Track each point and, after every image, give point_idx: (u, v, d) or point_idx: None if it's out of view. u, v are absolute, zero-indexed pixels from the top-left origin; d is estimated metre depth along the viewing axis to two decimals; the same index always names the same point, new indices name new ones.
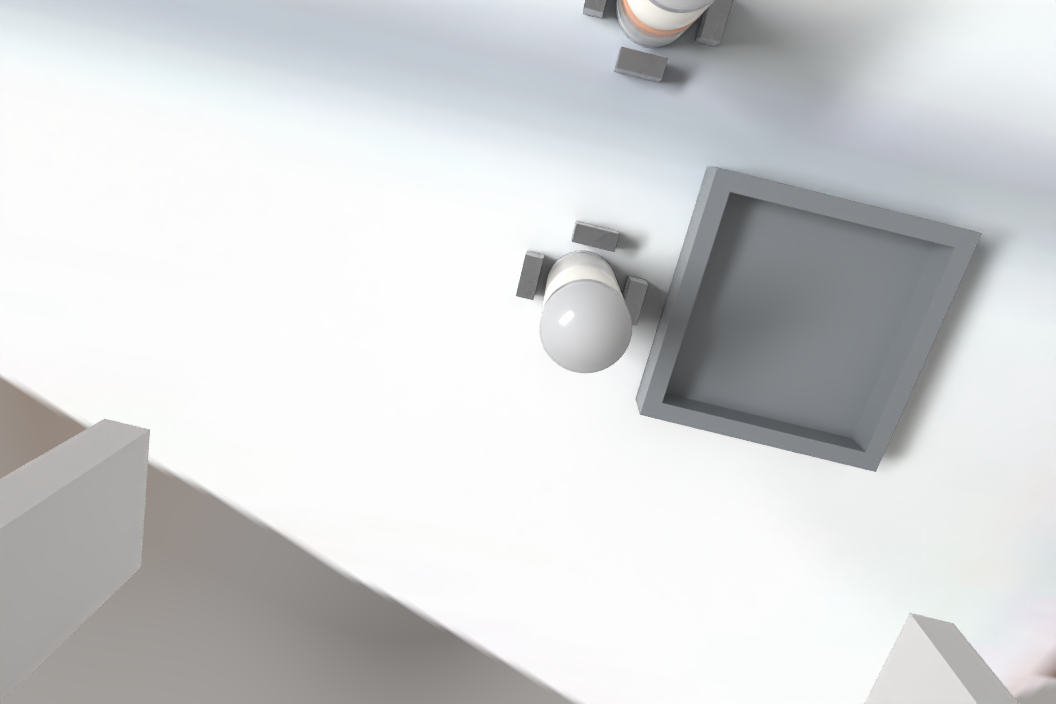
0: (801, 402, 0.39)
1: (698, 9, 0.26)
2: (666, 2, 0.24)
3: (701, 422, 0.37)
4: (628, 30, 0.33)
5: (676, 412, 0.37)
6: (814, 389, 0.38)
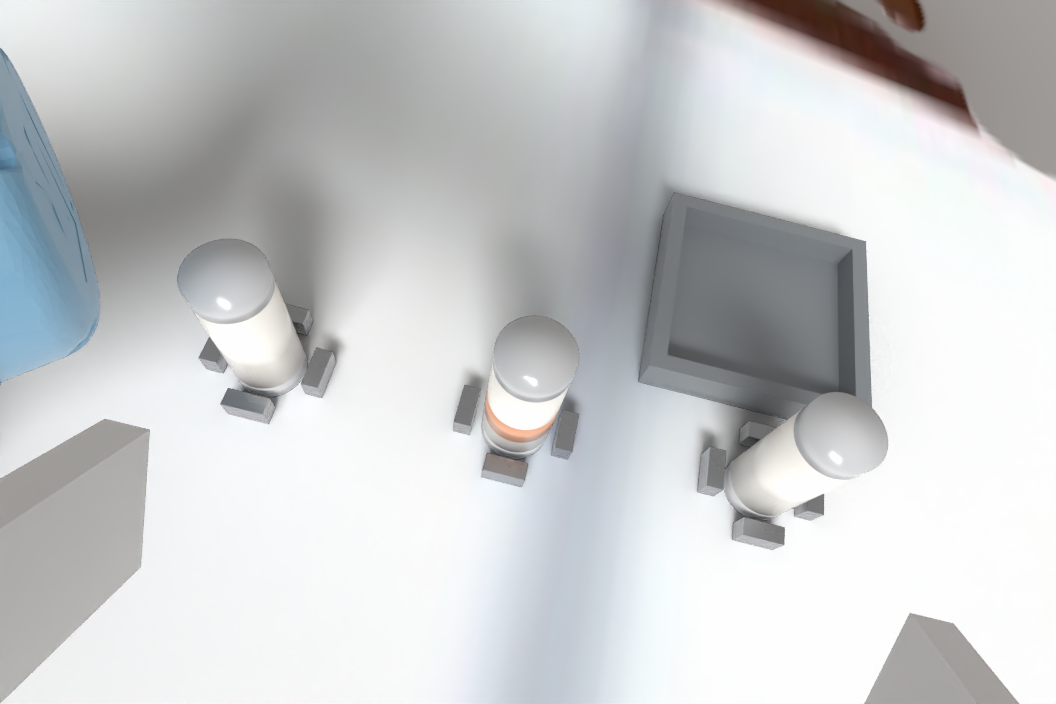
0: (818, 300, 0.46)
1: None
2: (576, 369, 0.30)
3: (864, 369, 0.41)
4: (541, 442, 0.37)
5: (861, 390, 0.40)
6: (805, 292, 0.46)
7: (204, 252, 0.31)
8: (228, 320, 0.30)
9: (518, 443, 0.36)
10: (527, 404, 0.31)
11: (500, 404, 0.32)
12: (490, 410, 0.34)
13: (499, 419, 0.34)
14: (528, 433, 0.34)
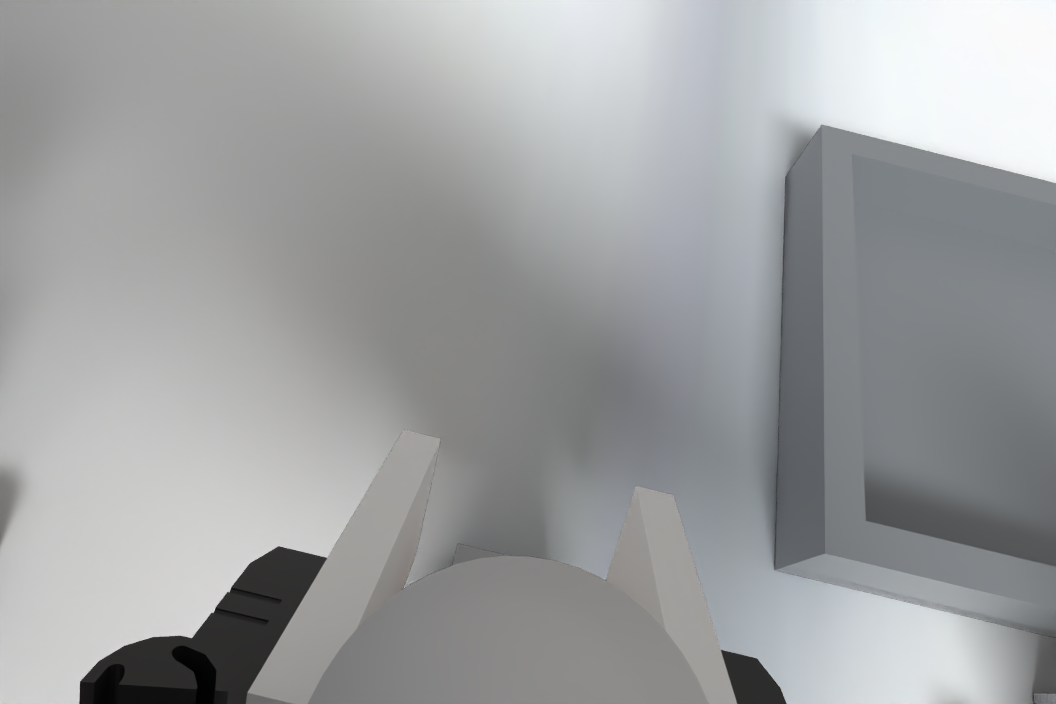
0: None
1: None
2: None
3: None
4: None
5: None
6: None
7: None
8: None
9: None
10: None
11: None
12: None
13: None
14: None
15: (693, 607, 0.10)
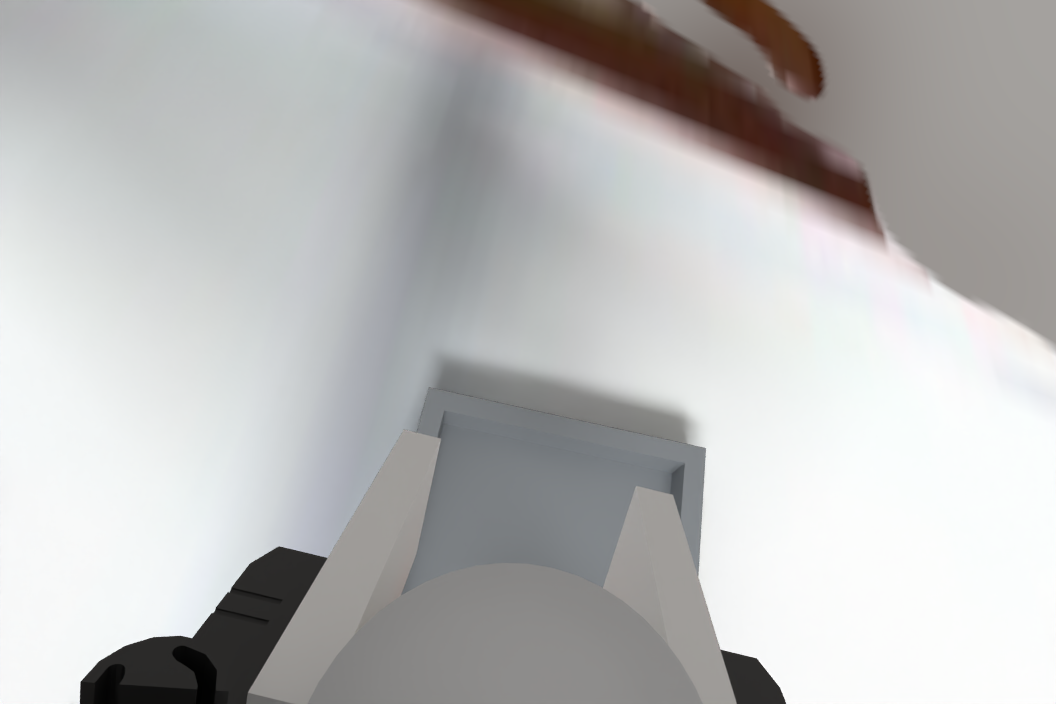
0: None
1: None
2: None
3: None
4: None
5: None
6: (619, 525, 0.32)
7: None
8: None
9: None
10: None
11: None
12: None
13: None
14: None
15: (693, 607, 0.10)
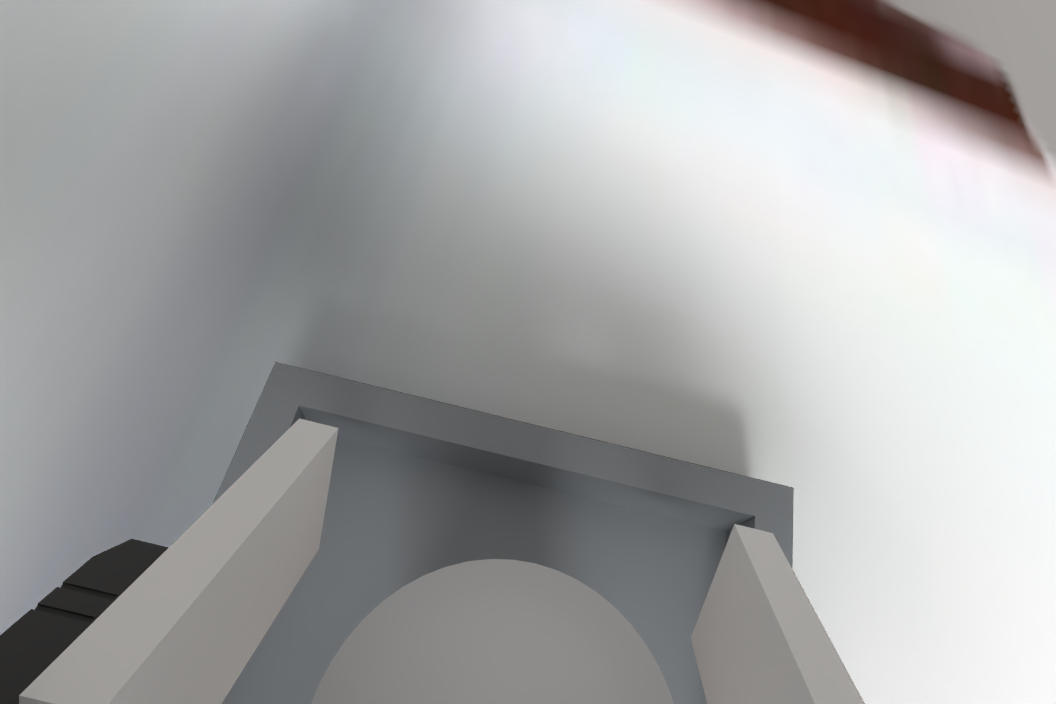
0: (663, 659, 0.17)
1: None
2: None
3: None
4: None
5: None
6: None
7: None
8: None
9: None
10: None
11: None
12: None
13: None
14: None
15: (831, 667, 0.09)
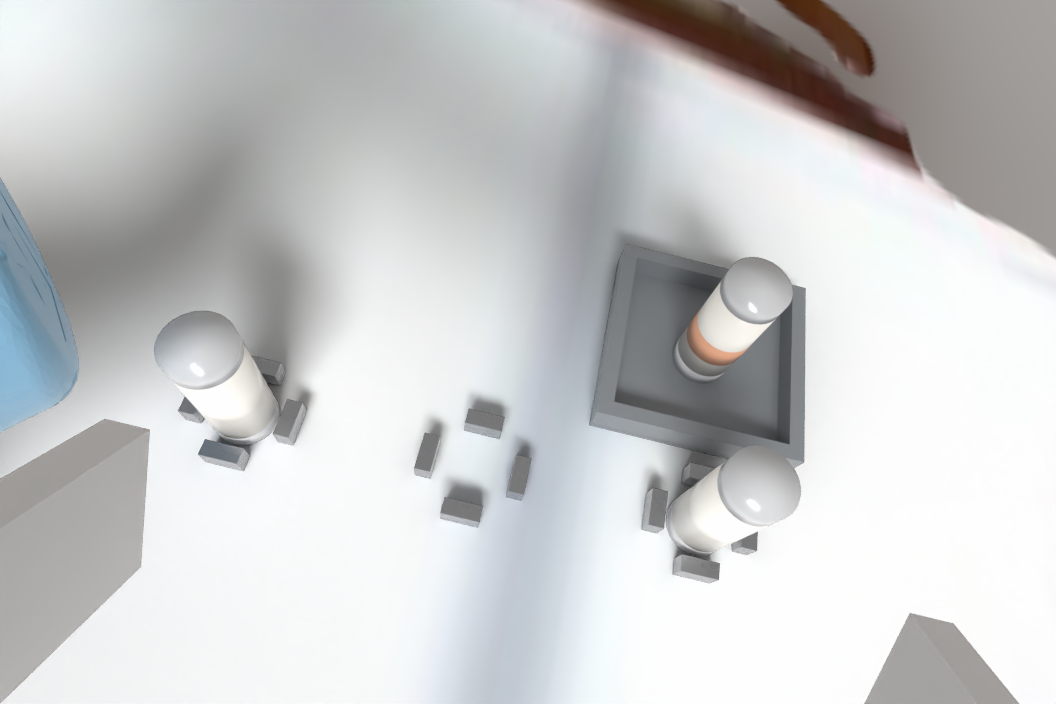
0: (761, 344, 0.49)
1: None
2: (791, 297, 0.39)
3: (798, 412, 0.44)
4: None
5: (795, 432, 0.44)
6: None
7: (179, 324, 0.34)
8: (201, 386, 0.33)
9: (717, 366, 0.44)
10: (750, 326, 0.39)
11: (720, 329, 0.41)
12: (701, 337, 0.43)
13: (710, 344, 0.42)
14: (732, 356, 0.43)
15: None
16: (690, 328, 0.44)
